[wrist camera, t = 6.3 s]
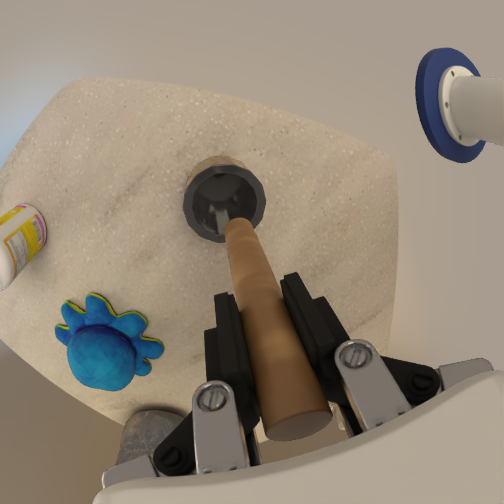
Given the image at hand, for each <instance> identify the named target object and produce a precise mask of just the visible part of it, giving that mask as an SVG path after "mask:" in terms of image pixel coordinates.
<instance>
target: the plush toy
mask: <svg viewBox="0 0 504 504" xmlns="http://www.w3.org/2000/svg"><path fill="white" fill-rule="evenodd" d="M86 310H87V312H83V311H82V310H81V309H79V308H78V307H77V306H76V305H74V304H72V303H69V302H68V301H66V302H65V303H64V304H63V305H62V307H61V312H62V316H63V318H64V320H65V322H66V324H67V326H68V327H66V326H64V327H63V326H61V325H57V326H56V327H55V335H56V338H57V339H58V340H59V341H61V342H62V343H63V344H64V345H66V346H68V347H67V357H68V362H69V366H70V368H71V370H72V372H73V375H74V376H75V378H76V379H77V380H78V381H79V382H81V383H82V384H83V385H85V386H88V387H90V388H95V389H102V390H106V391H118V390H122V389H123V388H125V387H126V386H127V385H128V384H129V383H130V382H131V380H132V379H133V377H134V374H136V375H138V376H145V375H148V374H149V373H150V371H151V364H150V362H149V361H147V360H146V359H144V358H149V359H157V358H159V357H160V356H161V355H162V353H163V351H164V349H165V347H164V345H163V343H162V342H161V341H160V340H158V339H152V338H144V337H142V336H141V335H142V332H143V331H144V330H145V329H146V327H147V325H148V323H147V321H146V319H145V318H144V317H143V316H142V315H141V314H139V313H138V312H135V311H134V312H132V311H131V312H127V313H123V314H122V315H118V316H116V315H115V313H114V312H113V309H111V305H110V304H109V303H108V302H107V301H106V300H105V299H104V298H102V296H100V295H96V294H95V293H94V294H93V293H92V294H91V293H90V294H89V295H88V296H87V297H86Z"/></svg>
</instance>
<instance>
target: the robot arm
mask: <svg viewBox="0 0 504 504" xmlns="http://www.w3.org/2000/svg"><path fill="white" fill-rule="evenodd" d="M438 101H439V108H440V113H441V117H442V120H443V123H444V125H445V128H446V130H447V131H448V133H449V135H450V136H451V137H452V138H453V140H454V141H456V142H457V143H458V144H461V145H464V146H473V145H475V144H476V143H477V142H478V141H479V140H483V141H487V142H490V143H494V144H497V145H500V146H504V79H501V78H490V77H478V76H474V75H473V74H472V73H471V72H470V71H469V70H468V69H466V68H465V67H462V66H450V67H448V68H447V69H446V70H445V71H444V72H443V74H442V76H441V79H440V82H439V89H438ZM280 284H281V289H282V294H283V299H284V301H285V304H286V306H287V308H288V311H289V313H290V315H291V318H292V320H293V322H294V325H295V327H296V330H297V332H298V334H299V337H300V339H301V341H302V344H303V346H304V349H305V351H306V353H307V356H308V358H309V361H310V363H311V365H312V368H313V369H314V371H315V373H316V375H317V377H318V380H319V382H320V385H321V387H322V389H323V392H324V394H325V397H326V399H327V401H330V402H333V403H335V406H336V408H337V411H338V413H339V416H340V418H341V420H342V423H343V425H344V428H345V430H346V432H347V435H348V437H349V439H347V440H344V441H342V442H340V443H336V444H334V445H331V446H328V447H325V448H322V449H319V450H316V451H313V452H310V453H306V454H303V455H300V456H296V457H293V458H289V459H285V460H281V461H277V462H273V463H269V464H264V465H263V462H262V458H261V453H260V449H259V444H258V440H257V435H256V431H255V426H256V425H257V424H258V422H259V421H260V417H261V414H260V410H259V406H258V401H257V397H256V392H255V383H254V379H253V374H252V370H251V365H250V360H249V356H248V351H247V346H246V341H245V336H244V332H243V327H242V322H241V317H240V312H239V309H238V306H237V304H236V301H235V298H234V295H233V294H231V295H228V293H227V292H225V293H221V294H217V295H214V302H215V313H216V324H217V327H216V328H212V329H208V330H205V331H204V342H205V361H206V377H207V382H206V383H204V384H202V385H201V386H199V387H198V389H197V390H196V391H195V393H194V395H193V398H192V411H191V412H190V413H189V414H188V415H187V417H186V418H185V419H184V420H183V421H182V422H181V423H180V424H179V425H178V426H177V427H176V428H175V429H174V430H173V431H172V432H171V433H170V434H169V435H168V436H167V437H166V438H165V439H164V440H163V441H162V442H161V443H160V444H159V445H158V447H157V448H156V449H155V451H154V453H152V454H150V455H149V454H147V453H146V454H144V455H141V456H139V457H137V458H134V459H132V460H129V461H127V462H124V463H121V464H119V465H116V466H114V467H111V468H109V469H107V470H106V471H105V472H104V473H103V476H102V485H103V488H104V489H103V490H102V491H101V492H99V493H98V494H97V496H96V497H95V499H94V501H93V504H504V371H501V370H495V371H494V369H493V367H492V365H491V363H490V362H489V361H488V360H486V359H484V358H476V359H471V360H467V361H462V362H457V363H453V364H448V365H442V366H439V368H438V369H433V368H431V367H429V366H426V365H420V364H416V363H411V362H406V361H402V360H397V359H393V358H389V357H384V356H380V355H379V354H378V352H377V351H376V349H375V348H374V346H373V345H372V344H371V343H369V342H367V341H365V340H361V339H352V340H351V339H350V338H349V336H348V334H347V333H346V331H345V329H344V328H343V326H342V324H341V323H340V321H339V319H338V318H337V316H336V315H335V313H334V311H333V310H332V308H331V306H330V305H329V303H328V301H327V300H326V298H325V297H324V296H322V297H319V298H316V299H312V298H311V296H310V294H309V292H308V290H307V289H306V287H305V285H304V283H303V282H302V280H301V278H300V276H299V274H298V273H297V272H294V273H291V274H287V275H284V279H283V280H280Z"/></svg>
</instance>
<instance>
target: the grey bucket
mask: <svg viewBox="0 0 504 504" xmlns="http://www.w3.org/2000/svg"><path fill="white" fill-rule="evenodd" d="M184 419H185V418H183V417H181V416H179V415H176V414H173V413H170V412H165V411H158V410H147V411H142V412H138V413H136V414H134V415H133V416H131V418H130V419H129V420H128V421H127V423H126V424H125V426H124V429H123V433H122V437H121V442H120V451H119V454H118V458H117V461H116V464H115V466H116V465H119V464H121V463H124V462H127V461H129V460H132V459H134V458H137V457H139V456H141V455H144V454H146V453H147V454H149V455H150V454H152V453H154V451H155V449H156V448H157V447H158V445H159V444H160V443H161V442H162V441H163V440H164V439H165V438H166V437H167V436H168V435H169V434H170V433H171V432H172V431H173V430H174V429H175V428H176V427H177V426H178V425H179V424H180V423H181V422H182V421H183V420H184Z"/></svg>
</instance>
